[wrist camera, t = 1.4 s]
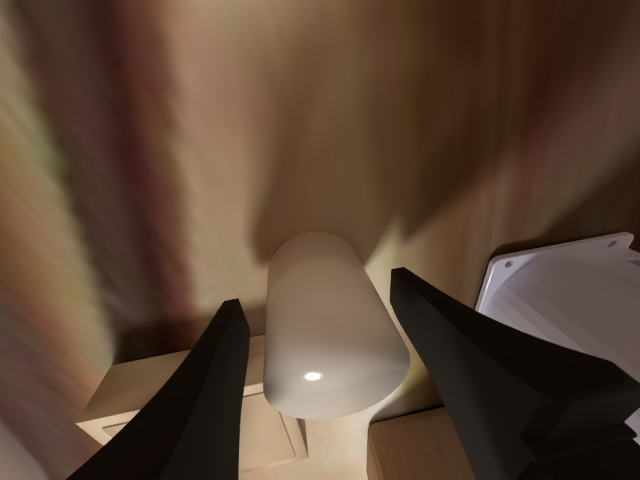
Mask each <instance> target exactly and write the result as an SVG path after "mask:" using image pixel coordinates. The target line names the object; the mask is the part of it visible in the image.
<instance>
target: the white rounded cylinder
mask: <svg viewBox="0 0 640 480" xmlns="http://www.w3.org/2000/svg"><path fill="white" fill-rule="evenodd" d="M409 366H410V355H409V351H408V349H407V347H406V345H405V343H404V341H403V339H402V337H401V336H400V334H399V332H398V330H397V328H396V326H395V324H394V323H393V321H392V319H391V317H390V315H389V313H388V311H387V309H386V308H385V306H384V304H383V302H382V300H381V298H380V296H379V295H378V293H377V291H376V289H375V287H374V285H373V283H372V281H371V280H370V278H369V276H368V274H367V272H366V270H365V268H364V267H363V265H362V263H361V261H360V259H359V257H358V255H357V253H356V252H355V250H354V248H353V247H352V246H351V245H350V244H349V242H347V241H346V240H345V239H343V238H341V237H340V236H337V235H335V234H332V233H327V232H308V233H304V234H300V235H298V236H295V237H293V238H291V239H289V240H288V241H286V242H285V243H283V244H282V245H281V246H280V247H279V248H278V249H277V250H276V251H275V253H274V254H273V256H272V258H271V260H270V263H269V266H268V276H267V300H266V323H265V347H264V370H263V392H264V396H265V398H266V400H267V401H268V403H269V404H270V405H271V406H272V407H273V408H275V409H276V410H277V411H279V412H281V413H283V414H285V415H288V416H291V417H295V418H300V419H310V420H320V419H331V418H337V417H342V416H346V415H350V414H353V413H356V412H359V411H361V410H364V409H366V408H368V407H370V406H372V405H374V404H376V403H378V402H380V401H381V400H383V399H384V398H386V397H387V396H388V395H390V394H391V393H392V392H393V391H394V390H395V389H396V388H397V387H398V386H399V385H400V384H401V382H402V381H403V380H404V378H405V376H406V375H407V372H408V370H409Z"/></svg>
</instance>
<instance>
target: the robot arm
mask: <svg viewBox="0 0 640 480" xmlns="http://www.w3.org/2000/svg"><path fill="white" fill-rule="evenodd" d="M633 239H634V235H633V234H631V233H628V232H620V233H615V234H610V235H604V236H599V237H594V238H589V239H583V240H578V241H573V242H567V243H562V244H557V245H552V246H546V247H541V248H536V249H530V250H525V251H520V252H514V253H509V254H504V255H499V256H496V257H494V258H492V260H491V261H490V263H489V265H488V269H487V272H486V275H485V278H484V282H483V285H482V288H481V292H480V295H479V298H478V301H477V305H476V308H475V310H473V309H472V308H470V307H468V306H466V305H464V304H462V303H461V302H459V301H457V300H455V299H453V298H452V297H450V296H448V295H447V294H445V293H443V292H442V291H440V290H438V289H437V288H435V287H434V286H432V285H431V284H429V283H427V282H426V281H424V280H423V279H421V278H420V277H418V276H417V275H415V274H414V273H412V272H411V271H409V270H408V269H406V268H404V267H401V268H396V269H391V287H390V303H391V305H392V308H393V310H394V312H395V314H396V317H397V319H398V321H399V322H400V324H401V326H402V328H403V329H404V331H405V333H406V334H407V336H408V338H409V339H410V341H411V343H412V344H413V346H414V348H415V349H416V351H417V353H418V354H419V356H420V358H421V359H422V361H423V363H424V364H425V366H426V368H427V370H428V372H429V374H430V376H431V378H432V380H433V382H434V384H435V386H436V388H437V390H438V392H439V394H440V396H441V399H442V401H443V403H444V405H445V407H446V410H447V412H448V414H449V416H450V418H451V421H452V423H453V425H454V428H455V430H456V432H457V434H458V437H459V439H460V441H461V444H462V446H463V448H464V451H465V453H466V456H467V458H468V461H469V463H470V466H471V468H472V471H473V473H474V476H475V478H476V480H640V253H639V252H636V251H634V250H631V249H629V248H628V247H629V246H630V244H631V242H632V241H633ZM249 344H250V329H249V326H248V323H247V321H246V318H245V315H244V312H243V310H242V307H241V304H240V302H239V299H232V300H227V301H224V302H223V304H222V305H221V307H220V308H219V310H218V311H217V313H216V315H215V316H214V318H213V319H212V321H211V322H210V324H209V325H208V327H207V328H206V330H205V331H204V333H203V334H202V336H201V337H200V339H199V340H198V342H197V343H196V344H195V346H194V347H193V349H192V350H191V351H190V353H189V354H188V355H187V357H186V358H185V359H184V361H183V362H182V363H181V364H180V366H179V367H178V368H177V369H176V371H175V372H174V373H173V374H172V376H171V377H170V378H169V379H168V380H167V382H166V383H165V384H164V385H163V386H162V387H161V389H160V390H159V391H158V392H157V393H156V394H155V395H154V396H153V397H152V398H151V399H150V400H149V401H148V403H147V404H146V405H145V406H144V407H143V408H142V409H141V410H140V411H139V412H138V413H137V414H136V415H135V416H134V417H133V418H132V419H131V420H130V421H129V422H128V423H127V424H126V425H125V426H124V427H123V428H122V429H121V430H120V431H119V432H118V433H117V434H116V435H115V436H114V437H113V438H112V439H111V440H110V441H108V442H107V443H106V444H105V445H104V446H103V447H102V448H101V449H100V450H99V451H98V452H97V453H96V454H94V455H93V456H92V457H91V458H90V459H89V460H88V461H87V462H86V463H84V464H83V465H82V466H81V467H80V468H79V469H77V470H76V471H75V472H74V473H73V474H72V475H71V476H69V477H68V478H67V479H66V480H238V474H239V443H240V422H241V409H242V401H243V393H244V386H245V379H246V372H247V365H248V357H249Z"/></svg>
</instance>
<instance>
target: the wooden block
mask: <svg viewBox="0 0 640 480" xmlns="http://www.w3.org/2000/svg"><path fill="white" fill-rule="evenodd" d="M366 472H367V476H368V480H476V478H475V476H474V473H473V471H472V468H471V466H470V463H469V461H468V458H467V456H466V453H465V451H464V448H463V446H462V444H461V441H460V439H459V437H458V434H457V432H456V430H455V428H454V425H453V423H452V421H451V418H450V416H449V414H448V412H447V410H446V407H441V408H437V409H432V410H428V411H424V412H420V413H415V414H411V415H407V416H402V417H398V418H394V419H389V420H385V421H381V422H376V423H374V424H372V425H371V426H370V427H369V428H368V438H367V469H366Z"/></svg>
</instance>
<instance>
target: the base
mask: <svg viewBox="0 0 640 480" xmlns="http://www.w3.org/2000/svg"><path fill="white" fill-rule="evenodd" d="M264 347H265V335H260V336H255V337H250V344H249V357H248V365H247V372H246V379H245V386H244V393H243V401H242V409H241V422H240V443H239V474H238V475H240V474H244V473H248V472H252V471H256V470H260V469H264V468H268V467H272V466H276V465H280V464H284V463H288V462H292V461H297V460H301V459H305V458H308V449H307V438H306V427H305V419H300V418H295V417H291V416H288V415H285V414H283V413H281V412H279V411H277V410H276V409H275V408H273V407H272V406H271V405H270V404H269V403H268V401H267V400H266V398H265V396H264V392H263V370H264ZM191 350H192V349H191ZM191 350H186V351H181V352H176V353H171V354H166V355H161V356H156V357H151V358H146V359H141V360H136V361H131V362H126V363H121V364H116V365H112V366H111V367H110V369H109V370H108V372H107V374H106V375H105V377H104V379H103V380H102V382H101V383H100V385H99V387H98V388H97V390H96V391H95V393H94V395H93V396H92V398H91V400H90V401H89V403H88V404H87V406H86V408H85V409H84V411H83V413H82V414H81V416H80V417H79V419H78V421H77V422H76V424H77V425H78V426H79V427H80V428H82V429H83V430H84V431H86V432H87V433H88V434H89V435H91V436H92V437H93V438H94V439H96V440H97V441H98V442H100V443H101V444H102V445H103V446H104V445H105V444H106V443H107V442H108V441H110V440H111V439H112V438H113V437H114V436H115V435H116V434H117V433H118V432H119V431H120V430H121V429H122V428H123V427H124V426H125V425H126V424H127V423H128V422H129V421H130V420H131V419H132V418H133V417H134V416H135V415H136V414H137V413H138V412H139V411H140V410H141V409H142V408H143V407H144V406H145V405H146V404H147V403H148V401H149V400H150V399H151V398H152V397H153V396H154V395H155V394H156V393H157V392H158V391H159V390H160V389H161V387H162V386H163V385H164V384H165V383H166V382H167V380H168V379H169V378H170V377H171V376H172V374H173V373H174V372H175V371H176V369H177V368H178V367H179V366H180V364H181V363H182V362H183V361H184V359H185V358H186V357H187V355H188V354H189V353H190V351H191Z"/></svg>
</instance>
